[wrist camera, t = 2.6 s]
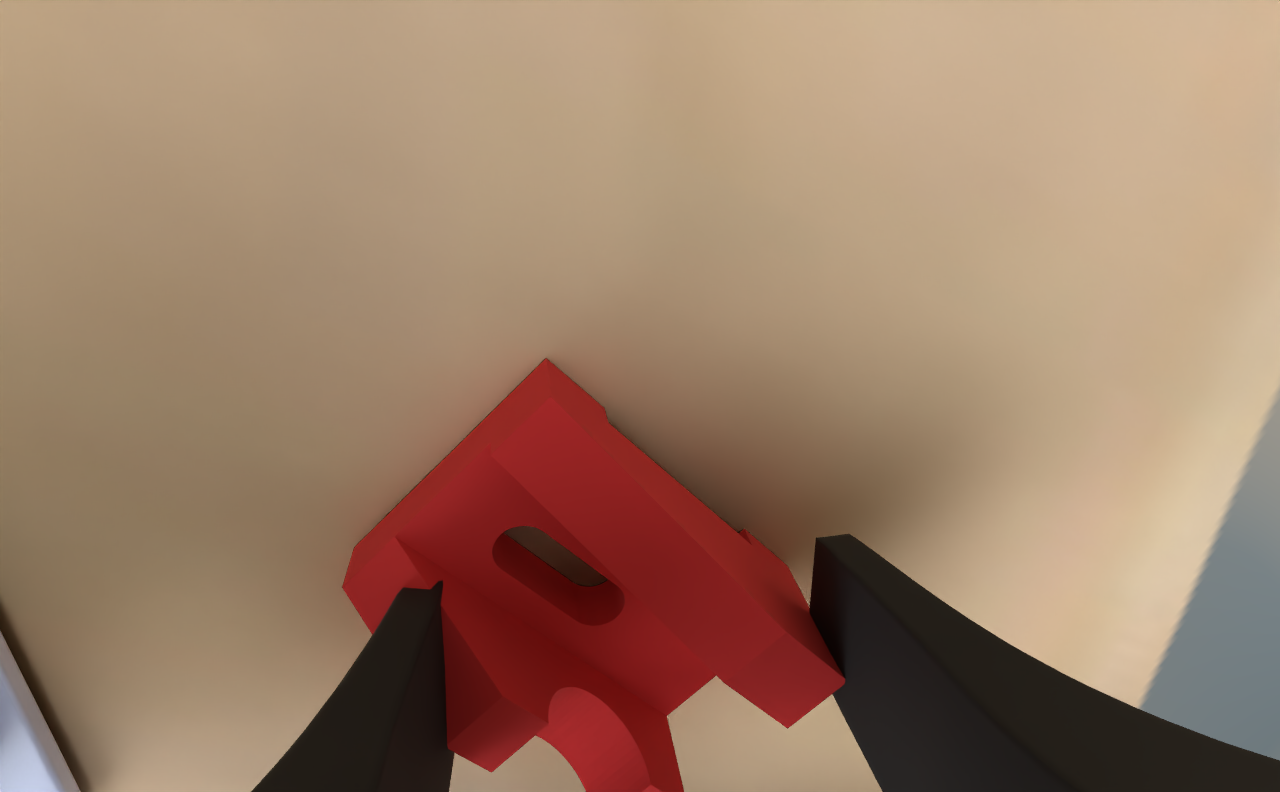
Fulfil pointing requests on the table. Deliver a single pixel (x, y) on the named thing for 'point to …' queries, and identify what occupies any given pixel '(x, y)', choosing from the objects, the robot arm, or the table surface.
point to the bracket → (587, 594)
